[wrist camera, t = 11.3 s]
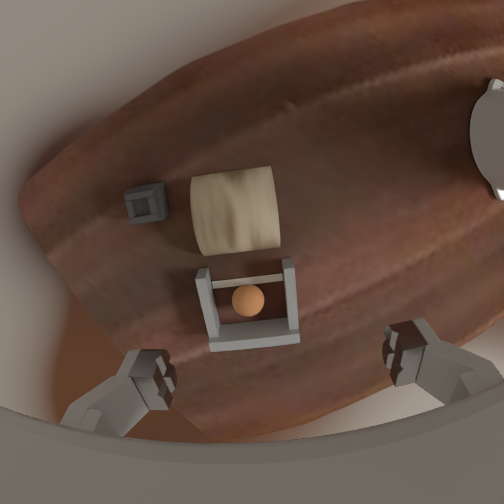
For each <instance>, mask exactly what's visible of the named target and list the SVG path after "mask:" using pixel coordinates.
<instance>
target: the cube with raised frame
mask: <svg viewBox="0 0 504 504" xmlns="http://www.w3.org/2000/svg"><path fill="white" fill-rule="evenodd" d="M124 198H125V201H126V202H125V203H126V207H127V212H128V216H129V220H130V225H131V226H132V225H138V224H144V223H150V222H156V221H162V220H164V219H165V218H166V217H167V216H168V215H169V214H170V212H169V207H168V202H167V197H166V191H165V186H164V181H162V182H157V183H152V184H147V185H142V186H137V187H133V188H131V189H129V190H126V191H124Z"/></svg>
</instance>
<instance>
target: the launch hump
mask: <svg viewBox="0 0 504 504" xmlns="http://www.w3.org/2000/svg"><path fill="white" fill-rule="evenodd" d="M190 204H191V215H192V222H193V227H194V232H195V236H196V240H197V243H198V246H199V249H200V251H201V253H202V254H203V255H204V256H211V255H220V254H228V253H236V252H244V251H252V250H260V249H269V248H277V247H280V228H279V218H278V209H277V201H276V194H275V187H274V181H273V175H272V170H271V166H266V167H258V168H250V169H242V170H235V171H227V172H221V173H214V174H207V175H201V176H195V177H192V180H191V186H190Z"/></svg>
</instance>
